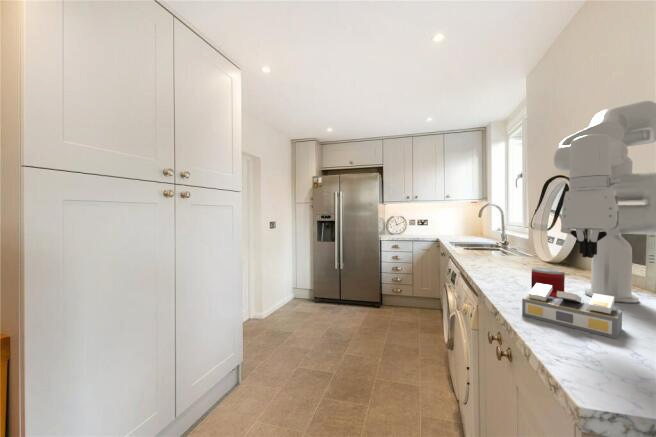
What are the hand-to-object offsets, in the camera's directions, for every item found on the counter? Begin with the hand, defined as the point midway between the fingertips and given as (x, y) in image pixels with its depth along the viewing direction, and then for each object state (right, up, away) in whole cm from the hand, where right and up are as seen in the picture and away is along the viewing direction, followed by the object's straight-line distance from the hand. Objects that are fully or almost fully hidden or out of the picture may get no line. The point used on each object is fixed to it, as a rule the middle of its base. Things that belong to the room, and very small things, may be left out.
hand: (588, 257), depth 68 cm
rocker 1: (-7, -11, +7) cm, 14 cm away
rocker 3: (+1, -11, -3) cm, 11 cm away
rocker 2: (-3, -11, +2) cm, 11 cm away
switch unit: (-3, -17, +2) cm, 18 cm away
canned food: (+3, -18, +16) cm, 24 cm away
